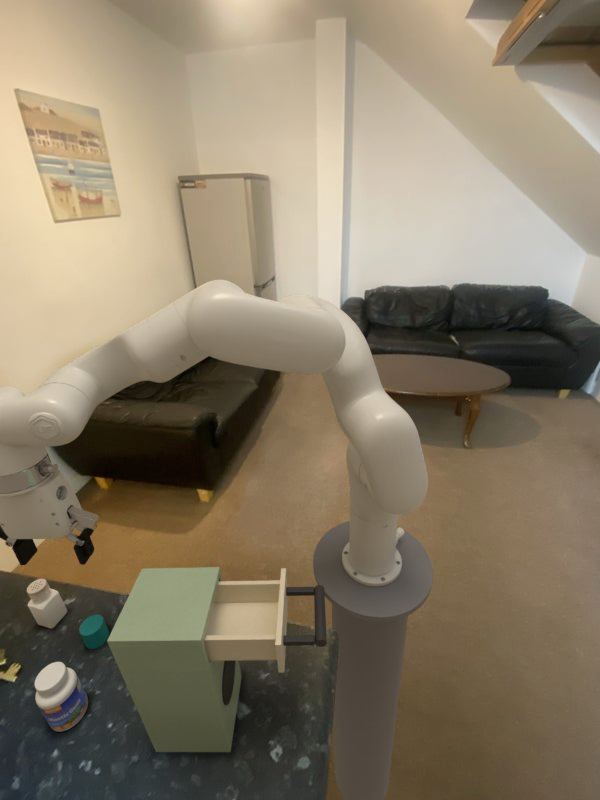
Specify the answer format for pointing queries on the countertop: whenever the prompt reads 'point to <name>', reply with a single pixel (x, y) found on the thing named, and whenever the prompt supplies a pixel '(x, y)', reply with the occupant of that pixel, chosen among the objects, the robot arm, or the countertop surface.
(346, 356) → the robot arm
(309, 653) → the countertop surface
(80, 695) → the pill bottle
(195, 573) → the green cabinet
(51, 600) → the salt shaker
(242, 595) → the drawer
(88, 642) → the pod
